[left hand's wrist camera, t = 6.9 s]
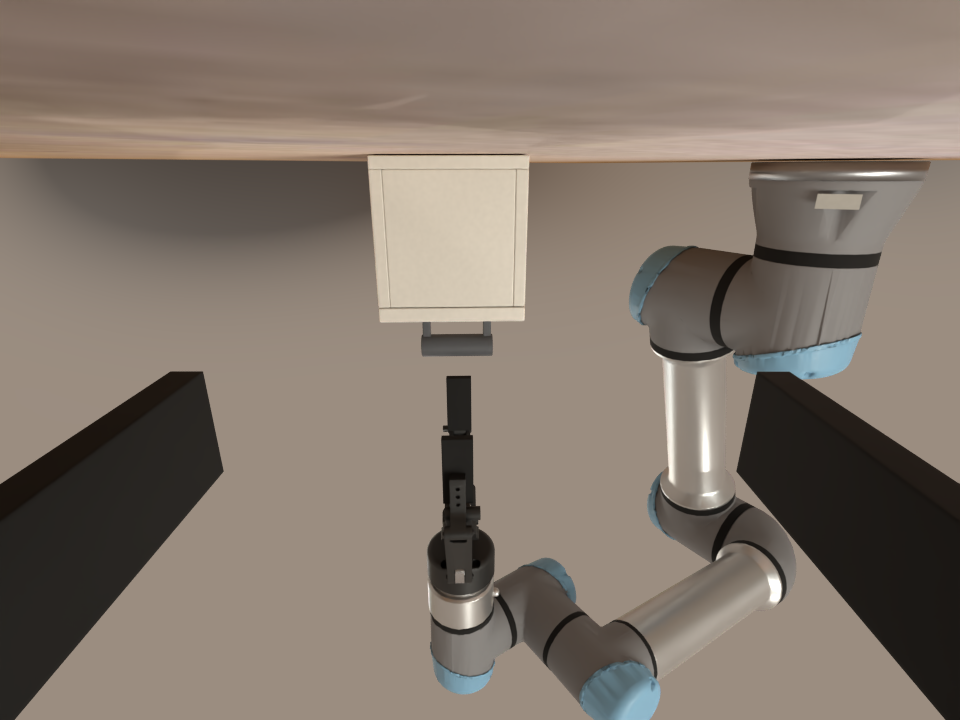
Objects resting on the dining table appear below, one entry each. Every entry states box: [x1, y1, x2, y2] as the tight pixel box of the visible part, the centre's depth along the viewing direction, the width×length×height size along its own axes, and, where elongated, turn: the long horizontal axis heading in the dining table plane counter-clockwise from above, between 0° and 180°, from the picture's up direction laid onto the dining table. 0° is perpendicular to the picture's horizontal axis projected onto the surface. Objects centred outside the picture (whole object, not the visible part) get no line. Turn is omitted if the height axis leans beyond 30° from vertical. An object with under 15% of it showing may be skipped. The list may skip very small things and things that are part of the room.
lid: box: [379, 306, 525, 356], centre depth 41 cm, size 18×9×9 cm, turn 178°
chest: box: [367, 155, 529, 308], centre depth 38 cm, size 17×9×9 cm, turn 178°
